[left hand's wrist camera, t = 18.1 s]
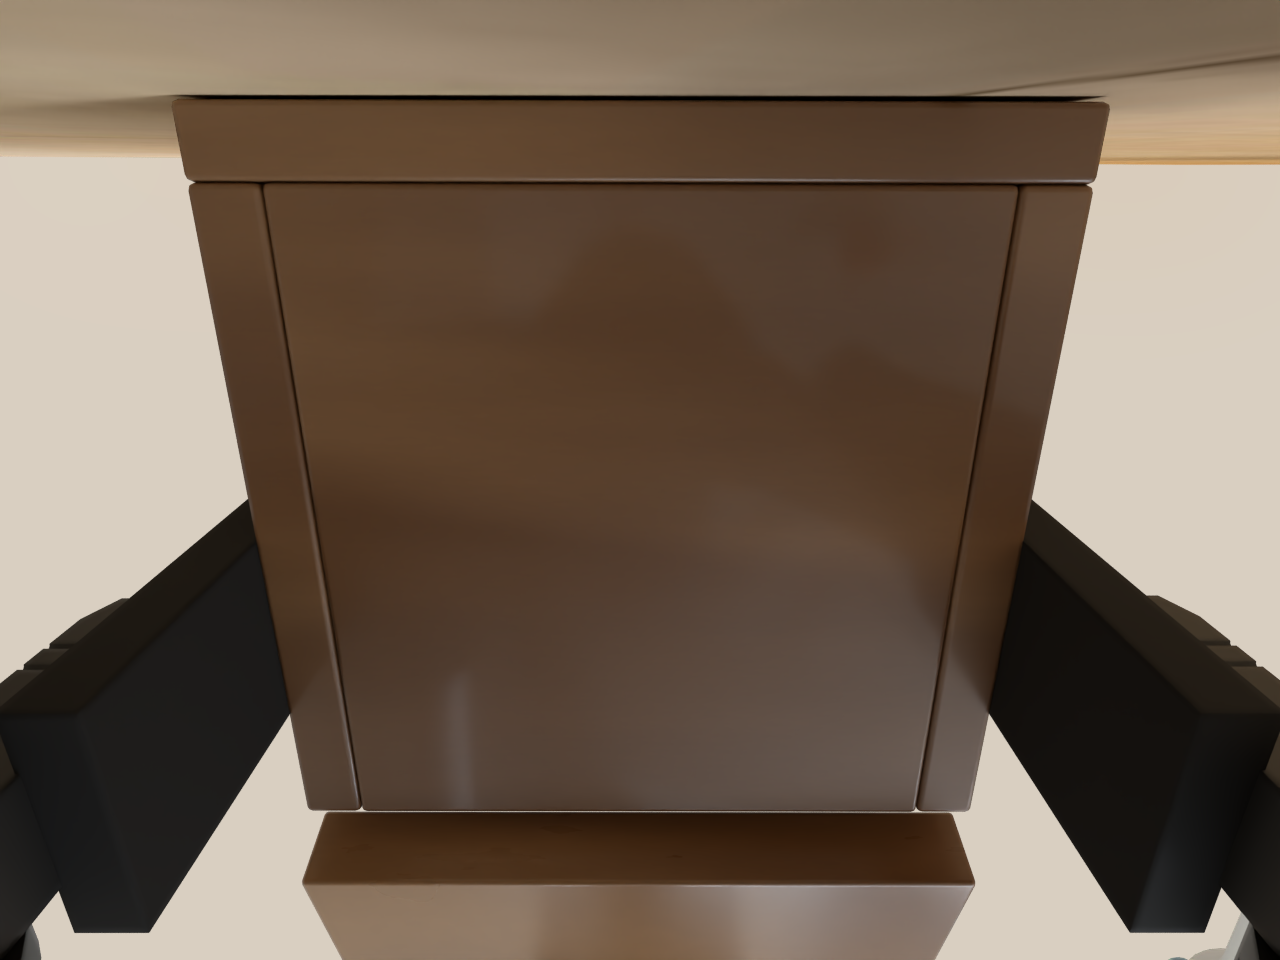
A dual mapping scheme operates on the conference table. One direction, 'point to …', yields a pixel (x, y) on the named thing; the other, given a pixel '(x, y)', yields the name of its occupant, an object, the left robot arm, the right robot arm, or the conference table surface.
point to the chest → (639, 435)
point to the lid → (638, 885)
